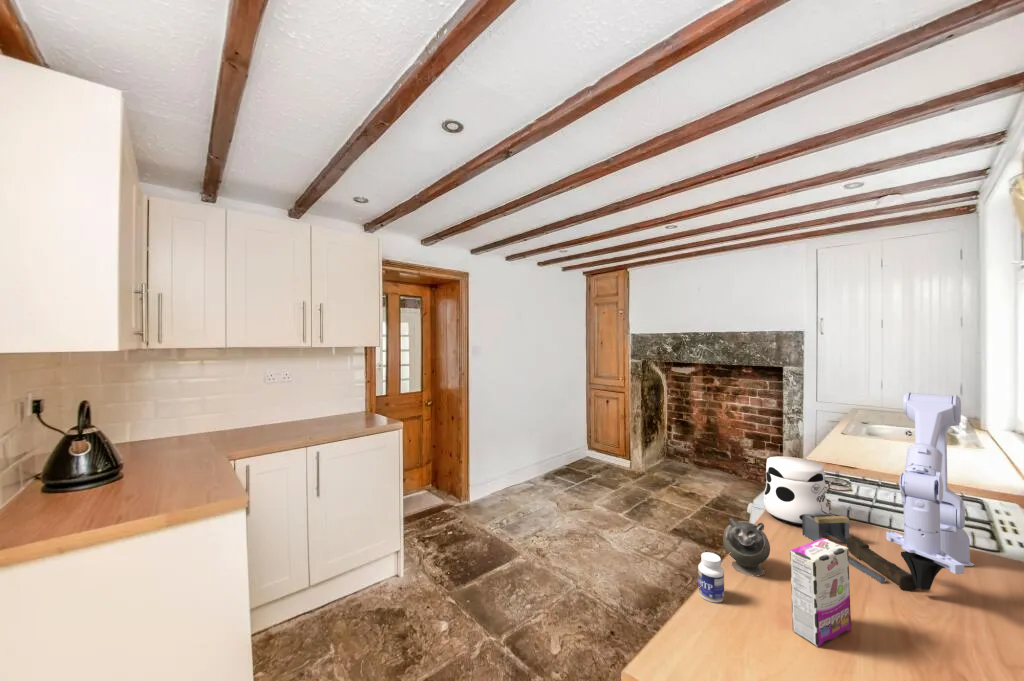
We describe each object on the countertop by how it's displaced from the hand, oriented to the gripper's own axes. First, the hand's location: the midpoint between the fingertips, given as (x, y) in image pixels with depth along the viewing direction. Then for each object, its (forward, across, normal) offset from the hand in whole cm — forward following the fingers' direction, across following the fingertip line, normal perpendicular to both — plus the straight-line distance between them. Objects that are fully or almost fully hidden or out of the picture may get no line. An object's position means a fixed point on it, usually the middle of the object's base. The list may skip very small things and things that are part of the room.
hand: (922, 588), depth 89 cm
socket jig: (+2, -17, 0) cm, 17 cm away
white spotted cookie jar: (+2, -40, +2) cm, 40 cm away
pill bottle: (+2, -3, -47) cm, 47 cm away
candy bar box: (+2, +9, -31) cm, 32 cm away
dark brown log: (+2, -11, 0) cm, 12 cm away
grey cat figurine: (+2, -14, -32) cm, 35 cm away
